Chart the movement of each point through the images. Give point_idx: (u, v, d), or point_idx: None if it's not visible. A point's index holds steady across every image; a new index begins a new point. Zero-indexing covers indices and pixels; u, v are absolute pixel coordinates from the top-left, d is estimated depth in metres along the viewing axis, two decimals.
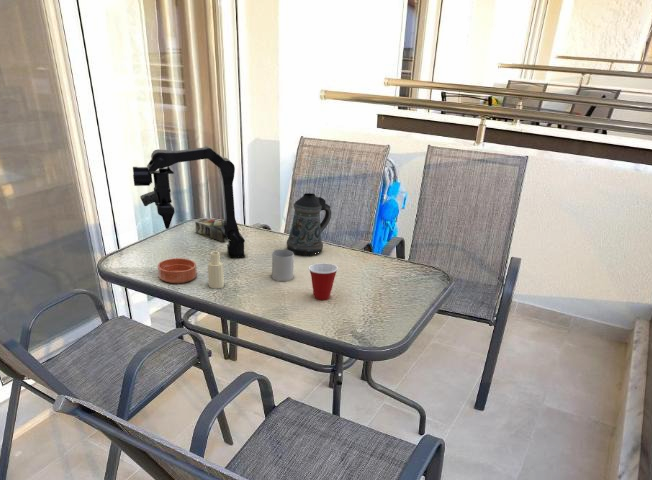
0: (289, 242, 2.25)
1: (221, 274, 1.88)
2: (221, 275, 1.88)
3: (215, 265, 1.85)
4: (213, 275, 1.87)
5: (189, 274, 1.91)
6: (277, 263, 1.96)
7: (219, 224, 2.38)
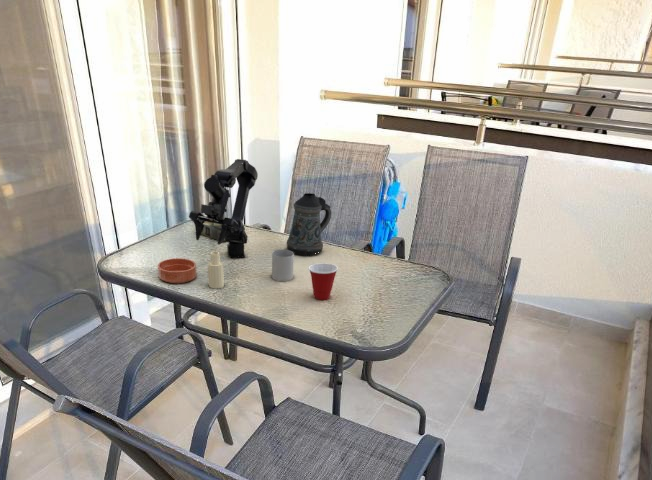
0: (289, 242, 2.25)
1: (221, 274, 1.88)
2: (221, 275, 1.88)
3: (215, 265, 1.85)
4: (213, 275, 1.87)
5: (189, 274, 1.91)
6: (277, 263, 1.96)
7: None
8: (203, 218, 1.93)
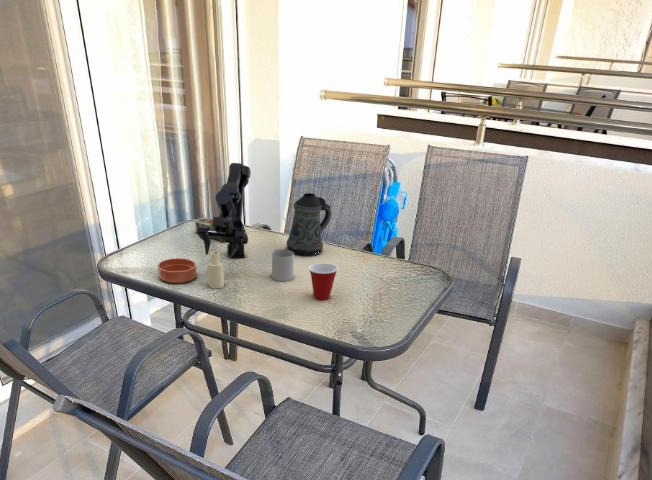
0: (289, 242, 2.25)
1: (221, 274, 1.88)
2: (221, 275, 1.88)
3: (215, 265, 1.85)
4: (213, 275, 1.87)
5: (189, 274, 1.91)
6: (277, 263, 1.96)
7: None
8: (211, 233, 1.91)
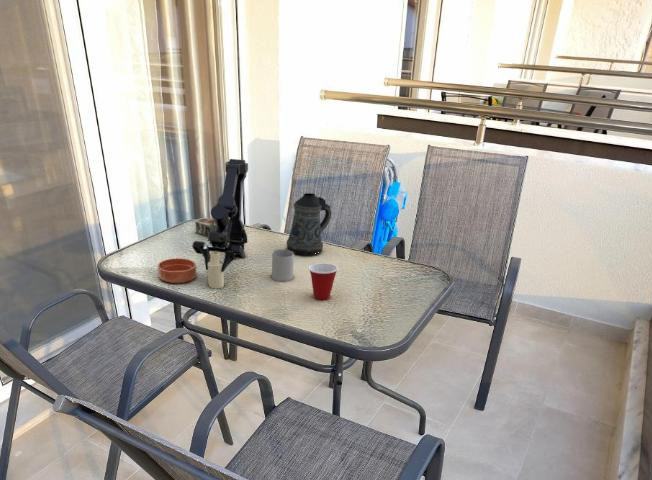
0: (289, 242, 2.25)
1: (221, 274, 1.88)
2: (221, 275, 1.88)
3: (215, 265, 1.85)
4: (213, 275, 1.87)
5: (189, 274, 1.91)
6: (277, 263, 1.96)
7: None
8: None
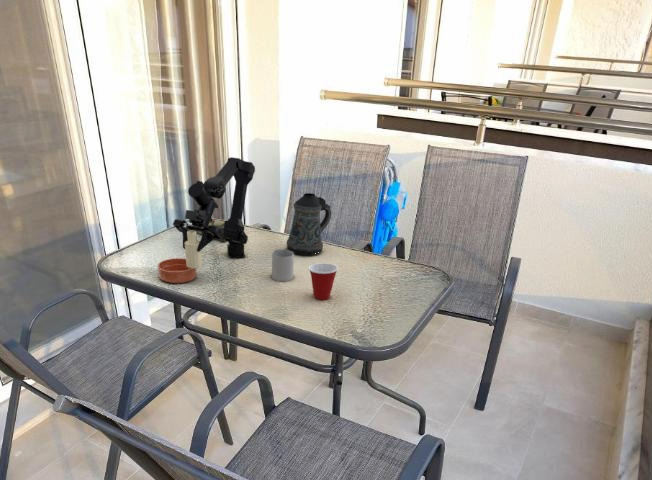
0: (289, 242, 2.25)
1: (197, 254, 1.85)
2: (197, 255, 1.86)
3: (191, 244, 1.83)
4: (189, 254, 1.85)
5: (189, 274, 1.91)
6: (277, 263, 1.96)
7: (220, 224, 2.38)
8: None
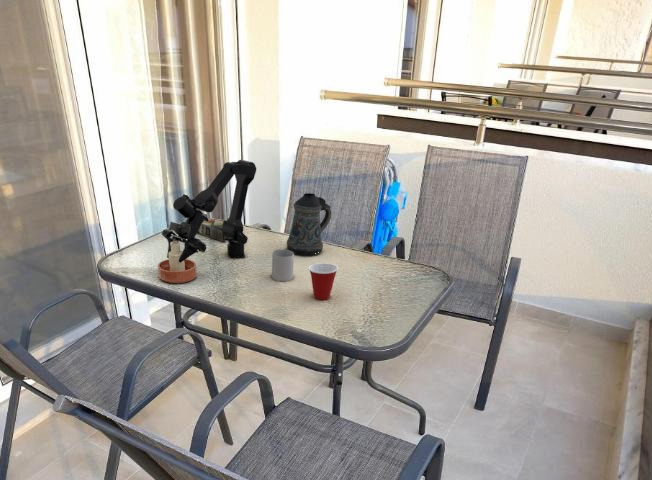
0: (289, 242, 2.25)
1: (179, 264, 1.91)
2: (179, 265, 1.92)
3: (173, 254, 1.90)
4: (171, 264, 1.91)
5: (189, 274, 1.91)
6: (277, 263, 1.96)
7: (220, 224, 2.38)
8: (175, 237, 1.94)
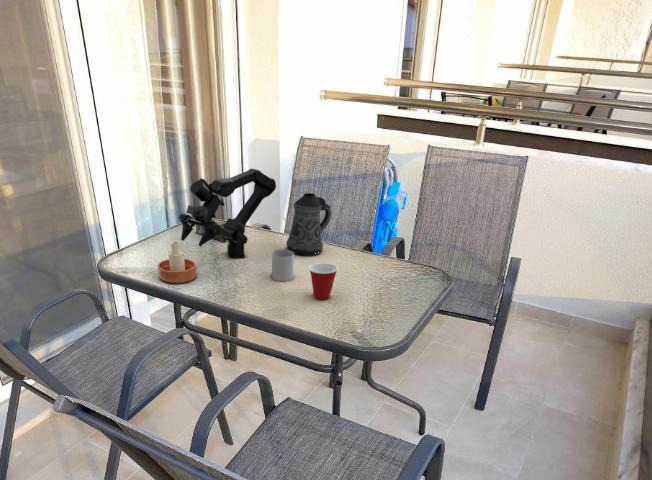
0: (289, 242, 2.25)
1: (179, 264, 1.91)
2: (179, 265, 1.92)
3: (173, 254, 1.90)
4: (171, 264, 1.91)
5: (189, 274, 1.91)
6: (277, 263, 1.96)
7: (220, 224, 2.38)
8: (192, 221, 1.99)
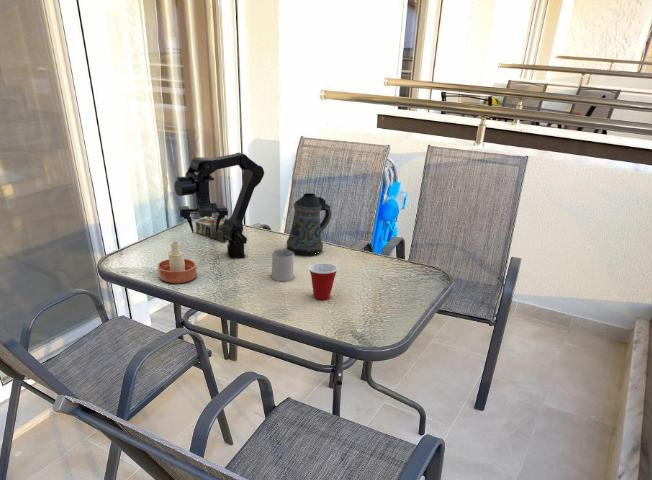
0: (289, 242, 2.25)
1: (179, 264, 1.91)
2: (179, 265, 1.92)
3: (173, 254, 1.90)
4: (171, 264, 1.91)
5: (189, 274, 1.91)
6: (277, 263, 1.96)
7: (220, 224, 2.38)
8: None
